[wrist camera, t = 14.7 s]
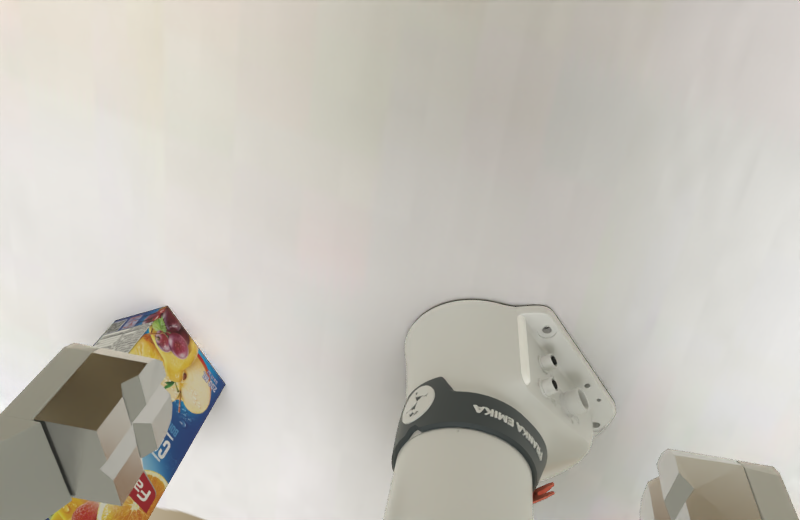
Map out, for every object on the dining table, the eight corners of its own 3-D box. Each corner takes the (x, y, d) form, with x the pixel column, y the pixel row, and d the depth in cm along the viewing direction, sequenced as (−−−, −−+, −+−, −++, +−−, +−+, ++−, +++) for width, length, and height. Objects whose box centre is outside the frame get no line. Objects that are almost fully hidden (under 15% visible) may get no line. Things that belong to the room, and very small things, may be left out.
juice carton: (226, 384, 70) (107, 592, 50) (175, 395, 72) (44, 596, 53) (166, 305, 64) (8, 503, 45) (115, 319, 67) (-57, 512, 47)
